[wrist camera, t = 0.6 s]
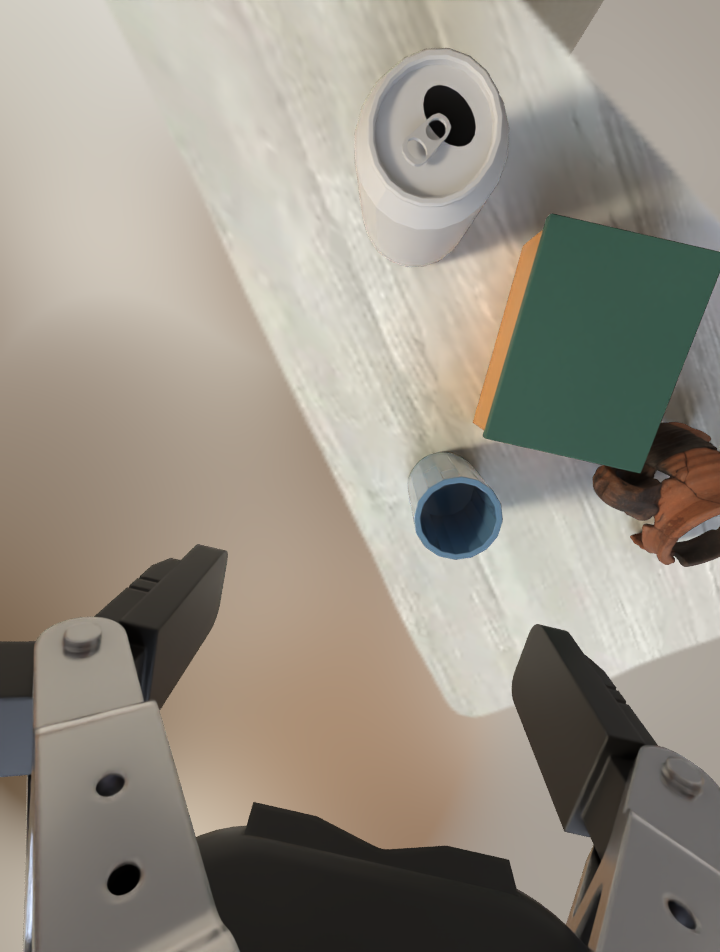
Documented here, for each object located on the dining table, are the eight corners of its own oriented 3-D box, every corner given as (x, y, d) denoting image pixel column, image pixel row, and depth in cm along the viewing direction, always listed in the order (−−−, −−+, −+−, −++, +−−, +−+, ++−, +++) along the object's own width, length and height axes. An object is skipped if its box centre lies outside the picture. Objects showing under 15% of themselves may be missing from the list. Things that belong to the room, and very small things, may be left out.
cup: (417, 445, 36) (426, 468, 28) (485, 460, 36) (513, 488, 28) (400, 509, 37) (405, 548, 30) (466, 524, 37) (488, 567, 30)
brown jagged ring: (726, 415, 35) (821, 490, 29) (652, 501, 41) (718, 577, 35) (592, 406, 32) (667, 487, 26) (536, 499, 38) (585, 581, 32)
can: (491, 211, 31) (555, 124, 20) (413, 292, 33) (430, 256, 21) (417, 125, 30) (440, -21, 19) (340, 213, 32) (317, 129, 20)
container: (520, 239, 32) (551, 212, 26) (665, 272, 32) (728, 253, 26) (467, 425, 35) (484, 438, 29) (598, 454, 35) (641, 473, 30)
